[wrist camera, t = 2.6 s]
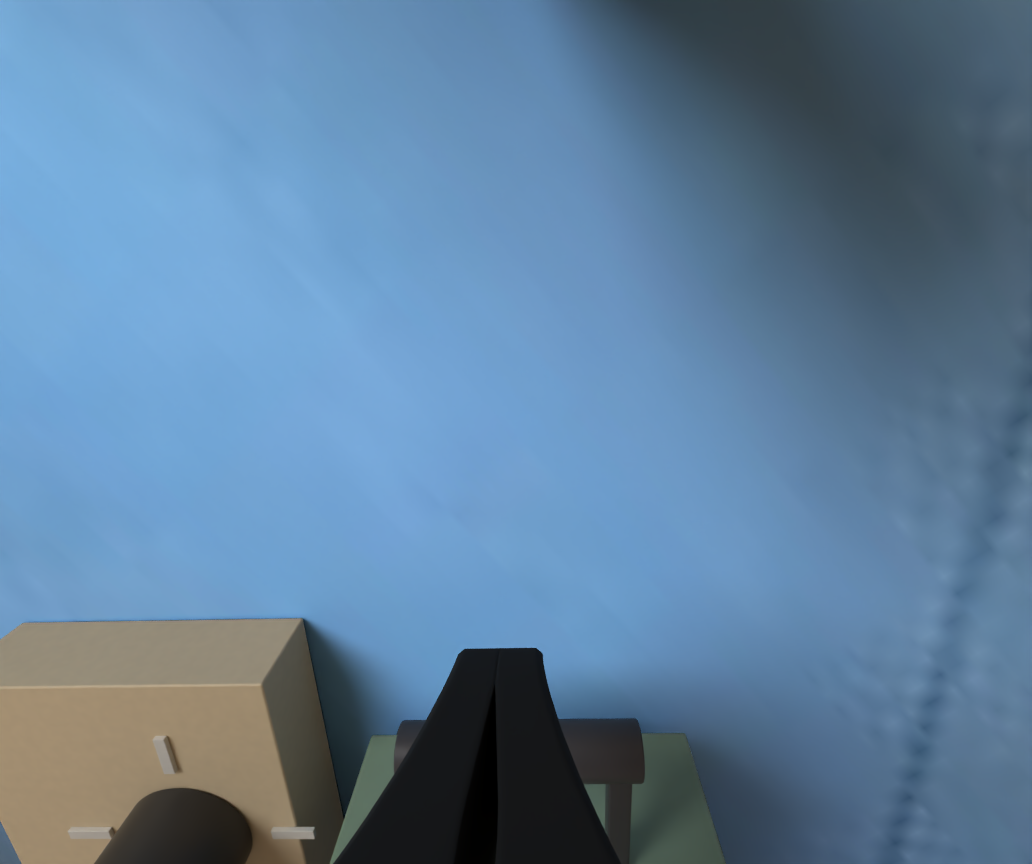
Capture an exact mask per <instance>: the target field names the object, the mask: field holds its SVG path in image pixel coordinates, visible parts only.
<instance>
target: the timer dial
mask: <svg viewBox="0 0 1032 864" xmlns="http://www.w3.org/2000/svg"><path fill="white" fill-rule="evenodd" d="M251 849H252V833H251V830H250V828H249V826H248V824H247V822H246V821H245V819H244V818H243V817H242V815H241V814H240V813H239V812H238V811H237V810H236V809H234V808H233V807H232V806H231V805H229V804H228V803H226V802H225V801H223V800H221V799H219V798H217V797H215V796H213V795H210V794H207V793H204V792H201V791H197V790H192V789H183V788H172V789H164V790H159V791H156V792H153V793H151V794H149V795H147V796H145V797H144V798H142V799H141V800H140V801H139V802H138V803H137V804H136V805H135V806H134V808H133V809H132V811H131V812H130V813H129V815H128V816H127V818H126V819H125V821H124V822H123V823H122V825H121V826H120V828H119V829H118V830H117V832H116V833H115V835H114V836H113V837H112V839H111V840H110V842H109V843H108V844H107V846H106V847H105V849H104V850H103V852H102V853H101V854H100V856H99V857H98V859H97V860H96V861H95V863H94V864H245V863H246V861H247V859H248V857H249V855H250V852H251Z"/></svg>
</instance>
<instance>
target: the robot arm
mask: <svg viewBox="0 0 1032 864" xmlns="http://www.w3.org/2000/svg"><path fill="white" fill-rule="evenodd" d="M333 864H621V862H620V860H619V858H618V856H617V854H616V852H615V850H614V848H613V846H612V844H611V842H610V840H609V838H608V836H607V834H606V832H605V830H604V828H603V826H602V824H601V821H600V819H599V817H598V815H597V813H596V811H595V808H594V806H593V804H592V802H591V800H590V797H589V795H588V793H587V791H586V789H585V786H584V784H583V782H582V779H581V777H580V775H579V772H578V770H577V767H576V765H575V762H574V760H573V757H572V755H571V752H570V750H569V747H568V744H567V742H566V739H565V737H564V734H563V732H562V729H561V726H560V723H559V720H558V717H557V714H556V711H555V708H554V705H553V701H552V698H551V695H550V691H549V687H548V684H547V679H546V675H545V670H544V664H543V654H542V653H541V652H540V651H539V650H538V649H537V648H496V649H464V650H463V651H462V652H461V653H459V654H458V657H457V659H456V661H455V664H454V666H453V668H452V671H451V673H450V675H449V677H448V679H447V681H446V683H445V685H444V687H443V689H442V691H441V693H440V695H439V697H438V699H437V701H436V703H435V705H434V707H433V709H432V710H431V712H430V714H429V716H428V718H427V720H426V721H425V723H424V725H423V727H422V728H421V730H420V732H419V733H418V735H417V737H416V739H415V740H414V742H413V744H412V746H411V747H410V749H409V751H408V752H407V754H406V756H405V758H404V759H403V761H402V763H401V764H400V766H399V767H398V769H397V771H396V772H395V774H394V775H393V777H392V778H391V780H390V781H389V783H388V784H387V786H386V787H385V789H384V791H383V792H382V794H381V795H380V797H379V798H378V800H377V801H376V803H375V804H374V806H373V807H372V809H371V810H370V812H369V814H368V815H367V817H366V818H365V820H364V821H363V822H362V824H361V825H360V827H359V828H358V830H357V831H356V832H355V834H354V835H353V837H352V838H351V840H350V841H349V842H348V844H347V845H346V847H345V848H344V849H343V851H342V852H341V854H340V855H339V856H338V858H337V859H336V860H335V862H334V863H333Z"/></svg>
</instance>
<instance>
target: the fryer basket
mask: <svg viewBox="0 0 1032 864" xmlns="http://www.w3.org/2000/svg"><path fill="white" fill-rule="evenodd" d="M558 720H559V723H560V726H561V729H562V732H563V734H564V737H565V739H566V742H567V744H568V747H569V750H570V752H571V755H572V757H573V760H574V762H575V765H576V767H577V770H578V772H579V775H580V777H581V779H582V782H583V784H584V786H585V789H586V791H587V793H588V795H589V797H590V800H591V802H592V804H593V806H594V808H595V811H596V813H597V815H598V817H599V819H600V821H601V824H602V826H603V828H604V830H605V832H606V834H607V836H608V838H609V840H610V842H611V844H612V846H613V848H614V850H615V852H616V854H617V856H618V858H619V860H620V862H621V864H726V862H725V859H724V855H723V852H722V849H721V846H720V843H719V839H718V836H717V833H716V830H715V827H714V823H713V820H712V817H711V814H710V811H709V807H708V804H707V801H706V798H705V795H704V791H703V788H702V785H701V782H700V779H699V775H698V772H697V769H696V766H695V763H694V759H693V756H692V753H691V750H690V747H689V743H688V740H687V737H686V735H685V734H684V733H641V730H640V726H639V723H638V721H637V719H635V718H630V719H558ZM425 721H426V720H404V721H402V723H401V724H400V727H399V729H398V733H397V735H373V736H371V739H370V742H369V745H368V748H367V751H366V754H365V757H364V760H363V763H362V766H361V769H360V772H359V775H358V779H357V782H356V785H355V788H354V791H353V794H352V797H351V800H350V803H349V806H348V809H347V812H346V815H345V818H344V821H343V824H342V827H341V830H340V833H339V836H338V839H337V842H336V845H335V849H334V852H333V855H332V858H331V861H330V864H333V863H334V862H335V860H336V859H337V858H338V856H339V855H340V854H341V852H342V851H343V849H344V848H345V847H346V845H347V844H348V842H349V841H350V840H351V838H352V837H353V835H354V834H355V832H356V831H357V830H358V828H359V827H360V825H361V824H362V822H363V821H364V820H365V818H366V817H367V815H368V814H369V812H370V810H371V809H372V807H373V806H374V804H375V803H376V801H377V800H378V798H379V797H380V795H381V794H382V792H383V791H384V789H385V787H386V786H387V784H388V783H389V781H390V780H391V778H392V777H393V775H394V774H395V772H396V771H397V769H398V767H399V766H400V764H401V763H402V761H403V759H404V758H405V756H406V754H407V752H408V751H409V749H410V747H411V746H412V744H413V742H414V740H415V739H416V737H417V735H418V733H419V732H420V730H421V728H422V727H423V725H424V723H425Z"/></svg>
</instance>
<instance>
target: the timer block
mask: <svg viewBox="0 0 1032 864" xmlns="http://www.w3.org/2000/svg"><path fill="white" fill-rule="evenodd" d="M172 788H183V789H192V790H197V791H201V792H204V793H207V794H210V795H213V796H215V797H217V798H219V799H221V800H223V801H225V802H226V803H228V804H229V805H231V806H232V807H233V808H234V809H236V810H237V811H238V812H239V813H240V814H241V815H242V817H243V818H244V819H245V821H246V822H247V824H248V826H249V828H250V830H251V833H252V849H251V852H250V855H249V857H248V859H247V861H246V863H245V864H330V861H331V858H332V855H333V852H334V849H335V845H336V842H337V839H338V836H339V833H340V830H341V827H342V824H343V821H344V818H343V813H342V808H341V803H340V798H339V793H338V789H337V784H336V779H335V774H334V769H333V764H332V759H331V754H330V750H329V745H328V740H327V735H326V730H325V725H324V720H323V715H322V711H321V706H320V701H319V696H318V691H317V686H316V681H315V676H314V672H313V667H312V662H311V657H310V652H309V647H308V642H307V637H306V633H305V628H304V623H303V619H301V618H290V619H228V620H165V621H102V622H40V623H22V624H21V625H19V626H18V627H17V628H15V629H14V630H13V631H11V632H10V633H9V634H7V635H6V636H4V637H3V638H2V639H0V821H1V823H2V825H3V827H4V829H5V831H6V833H7V835H8V837H9V839H10V841H11V843H12V845H13V847H14V849H15V851H16V853H17V855H18V857H19V859H20V861H21V863H22V864H94V863H95V861H96V860H97V859H98V857H99V856H100V854H101V853H102V852H103V850H104V849H105V847H106V846H107V844H108V843H109V842H110V840H111V839H112V837H113V836H114V835H115V833H116V832H117V830H118V829H119V828H120V826H121V825H122V823H123V822H124V821H125V819H126V818H127V816H128V815H129V813H130V812H131V811H132V809H133V808H134V806H135V805H136V804H137V803H138V802H139V801H140V800H141V799H142V798H144V797H145V796H147V795H149V794H151V793H153V792H156V791H159V790H164V789H172Z"/></svg>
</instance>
